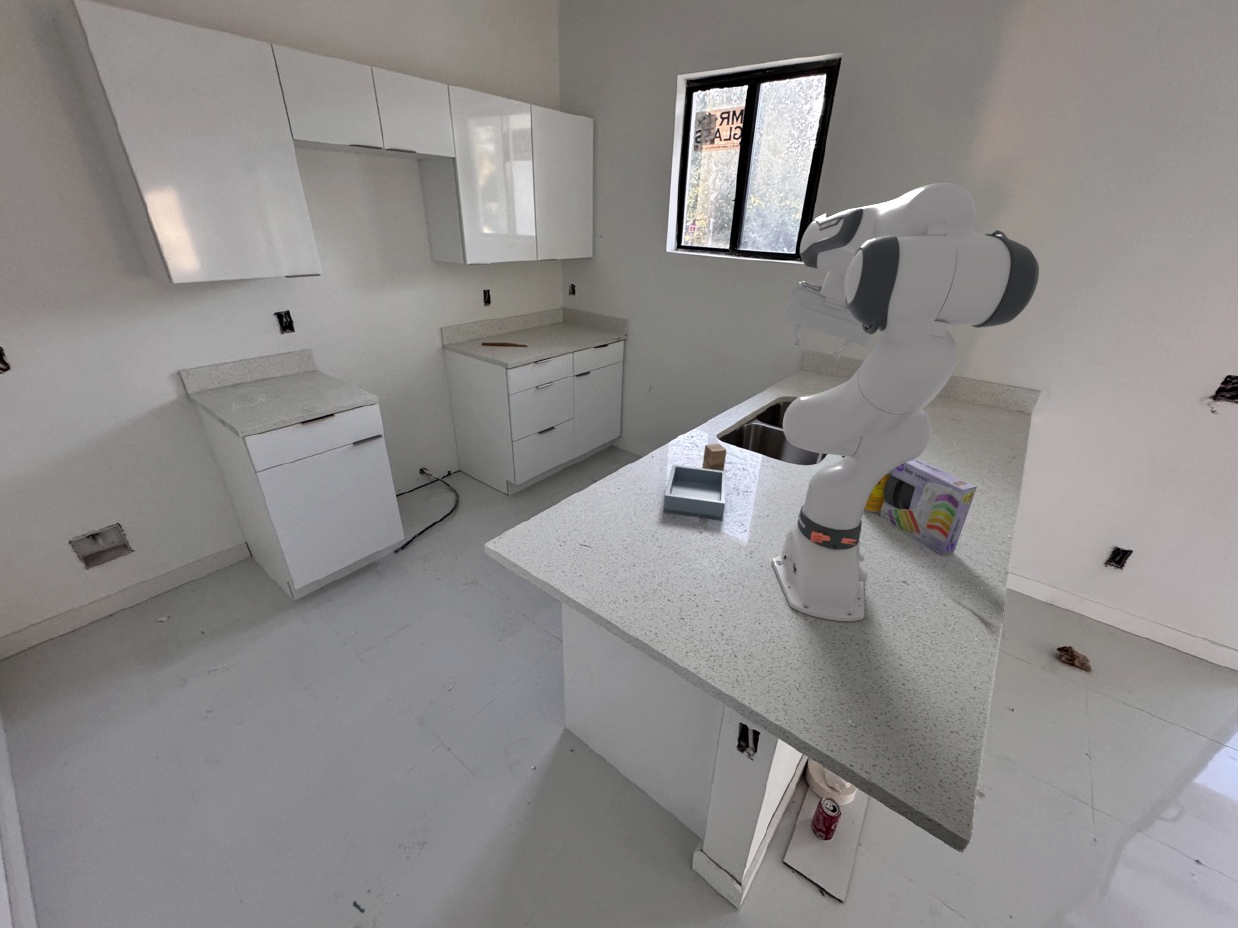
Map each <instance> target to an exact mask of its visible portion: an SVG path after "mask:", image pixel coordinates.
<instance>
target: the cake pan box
mask: <svg viewBox="0 0 1238 928" xmlns="http://www.w3.org/2000/svg"><path fill="white" fill-rule="evenodd" d="M977 487H978V486H977V485H975V484H972V483H969V482H967V481H965V480H963V479H960V478H959V477H957V476H955V475H952V474H951V473H950V472H948V471H946V470H944V469H941V468H940V467H938V466H935V465H933V464H929V463H927V462H925V461H923V460H922V459H919V458H918V457H917V458H915V459H913V460H910V461H908V462H905V463H903V464H901V465H899V466H898V467H896V468H894V469H893V471H892V475H891V476H890V477H889V479H888V480H887V482H886V485H885V489H884V500H885V501H884V504H883V507H882V509H881V511H880V512H881V513H880V516H879V517H880V518H881V519H883V520H885V521H886V522H888V523H889V524H891V525H893V526H894V527H896V528H897V529H898V530H901V531H903V532H904V533H905V534H907V535H909V536H910V537H912V538H913V539H916V540H917V541H918V542H920V543H922V544H923V545H924V546H926V547H929V548H930V549H931V550H933V551H935V553H938V554H940V555H946V554H952V553H954V552H955V551H956V547H957V546H958V542H959V539H960V537H961V534H962V530H963V528H964V525H965V522H966V520H967V519H966V518H967V516H968V514H969V510H970V508H971V505H972V502H973V499H974V496H975V494H976V491H977Z"/></svg>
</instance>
